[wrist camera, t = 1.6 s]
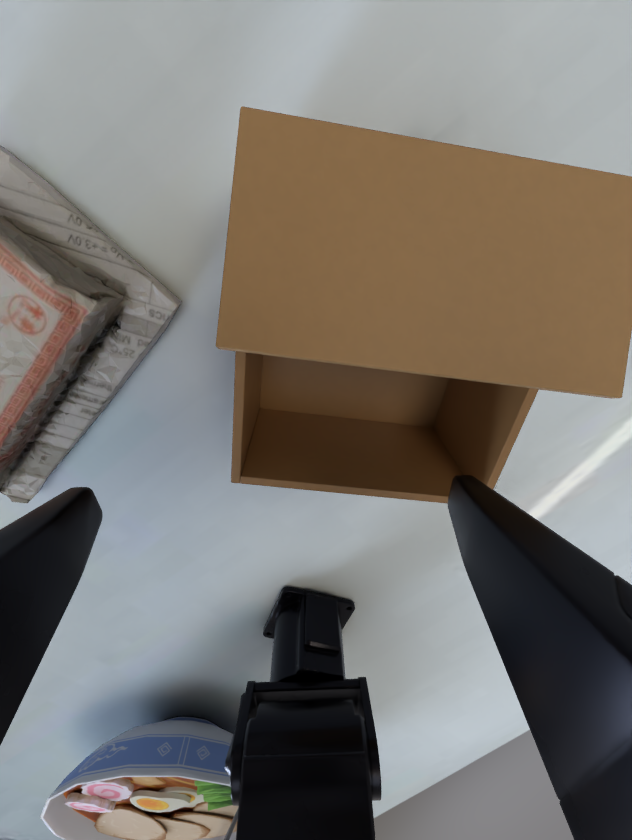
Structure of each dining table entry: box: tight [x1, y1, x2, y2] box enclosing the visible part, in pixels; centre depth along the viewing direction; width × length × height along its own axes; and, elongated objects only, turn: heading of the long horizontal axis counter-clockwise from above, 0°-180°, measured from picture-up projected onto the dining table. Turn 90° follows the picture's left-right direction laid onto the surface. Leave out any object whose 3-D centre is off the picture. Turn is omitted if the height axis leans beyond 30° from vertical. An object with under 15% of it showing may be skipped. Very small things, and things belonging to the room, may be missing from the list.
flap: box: [216, 107, 632, 398], centre depth 10 cm, size 6×12×1 cm, turn 82°
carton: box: [231, 351, 539, 503], centre depth 17 cm, size 13×12×7 cm
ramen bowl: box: [40, 717, 239, 840], centre depth 37 cm, size 25×23×8 cm
